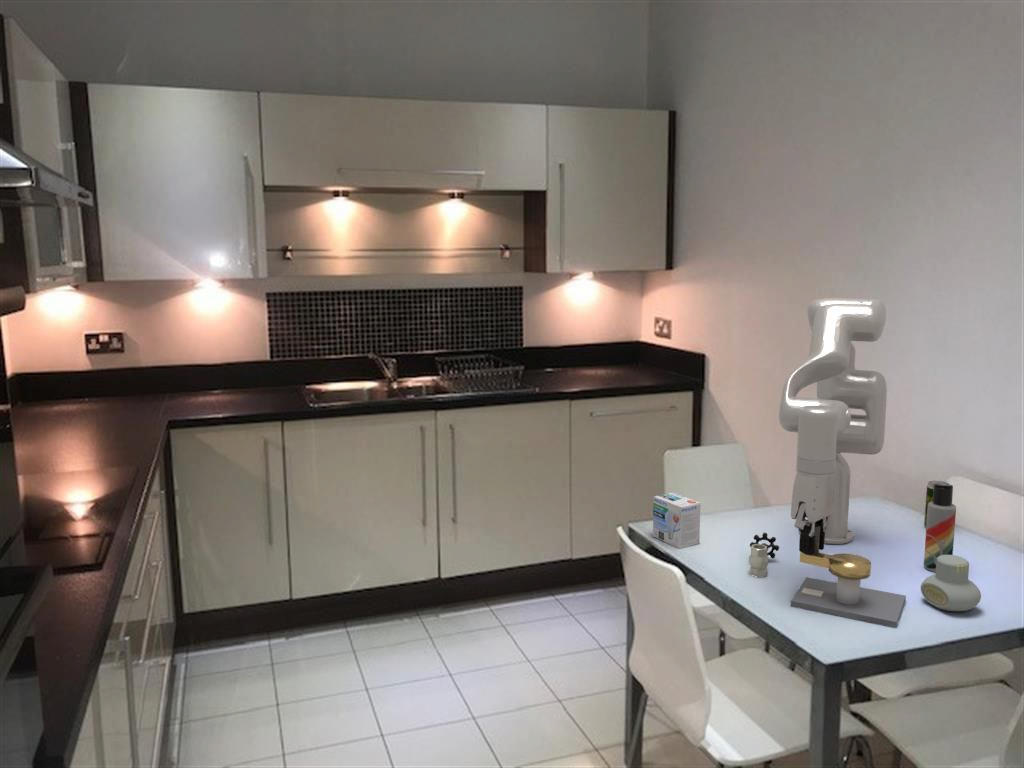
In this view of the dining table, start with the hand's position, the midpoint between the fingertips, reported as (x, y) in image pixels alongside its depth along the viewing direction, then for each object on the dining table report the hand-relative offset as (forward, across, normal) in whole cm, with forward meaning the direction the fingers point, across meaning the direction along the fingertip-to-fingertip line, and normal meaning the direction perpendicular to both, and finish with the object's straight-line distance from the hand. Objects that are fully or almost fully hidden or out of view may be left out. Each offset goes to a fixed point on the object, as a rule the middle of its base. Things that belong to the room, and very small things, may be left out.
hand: (811, 549), depth 178 cm
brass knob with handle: (+3, -1, +5) cm, 6 cm away
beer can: (+10, -61, +3) cm, 62 cm away
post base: (+10, -2, +8) cm, 13 cm away
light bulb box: (+10, -8, -40) cm, 42 cm away
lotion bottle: (+10, -34, +13) cm, 38 cm away
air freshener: (+10, -16, +22) cm, 29 cm away
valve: (+10, -7, -15) cm, 20 cm away
